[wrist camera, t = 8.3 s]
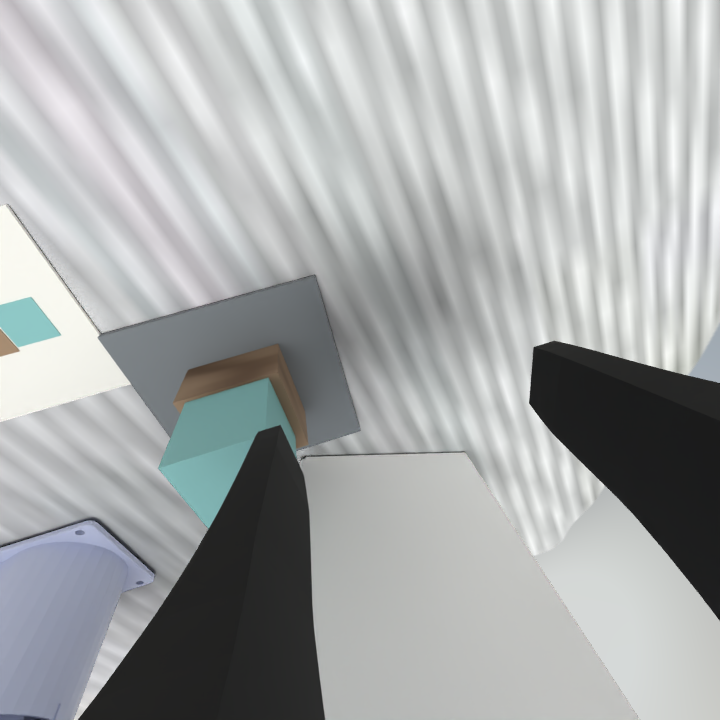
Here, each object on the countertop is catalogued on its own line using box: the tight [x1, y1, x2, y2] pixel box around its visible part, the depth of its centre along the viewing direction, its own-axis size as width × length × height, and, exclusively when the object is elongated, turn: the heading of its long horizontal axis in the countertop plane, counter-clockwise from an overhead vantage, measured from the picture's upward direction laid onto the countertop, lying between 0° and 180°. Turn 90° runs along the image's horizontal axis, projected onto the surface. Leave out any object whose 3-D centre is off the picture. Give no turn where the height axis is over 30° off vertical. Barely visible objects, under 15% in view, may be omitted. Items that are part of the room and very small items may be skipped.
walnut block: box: [173, 344, 308, 449], centre depth 18 cm, size 5×5×3 cm
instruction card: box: [0, 205, 131, 422], centre depth 15 cm, size 7×9×1 cm
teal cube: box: [158, 378, 297, 529], centre depth 15 cm, size 4×4×4 cm
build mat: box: [97, 275, 360, 451], centre depth 19 cm, size 11×11×1 cm
